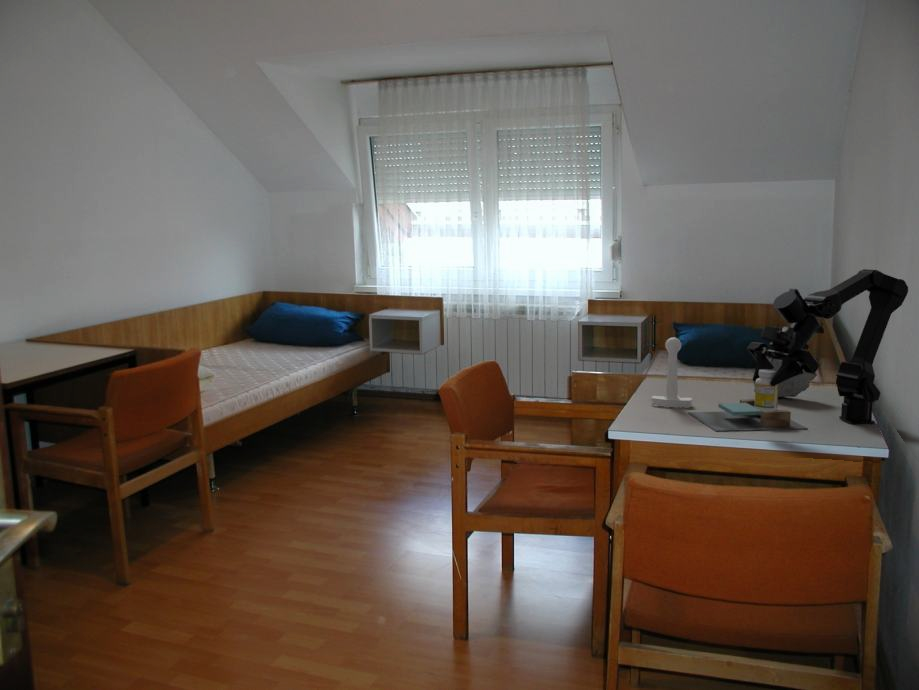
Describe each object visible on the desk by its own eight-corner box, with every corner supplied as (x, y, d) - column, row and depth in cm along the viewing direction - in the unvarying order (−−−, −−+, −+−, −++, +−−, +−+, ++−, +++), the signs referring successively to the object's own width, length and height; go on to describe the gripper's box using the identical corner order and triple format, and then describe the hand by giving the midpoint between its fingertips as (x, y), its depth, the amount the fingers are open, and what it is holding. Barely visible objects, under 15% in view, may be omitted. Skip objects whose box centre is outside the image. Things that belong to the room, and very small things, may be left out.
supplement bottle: (768, 412, 195) (769, 373, 193) (749, 408, 199) (751, 370, 198) (782, 409, 198) (783, 371, 196) (763, 405, 202) (765, 367, 201)
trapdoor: (766, 411, 219) (766, 402, 219) (783, 420, 209) (784, 410, 209) (717, 412, 218) (718, 403, 218) (733, 421, 208) (733, 412, 208)
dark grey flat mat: (772, 411, 224) (773, 397, 224) (807, 429, 205) (808, 413, 204) (688, 413, 223) (688, 398, 222) (715, 431, 203) (716, 415, 203)
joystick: (650, 406, 232) (652, 337, 229) (653, 400, 239) (655, 334, 236) (690, 408, 228) (693, 339, 225) (692, 403, 235) (694, 335, 232)
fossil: (814, 398, 241) (817, 348, 239) (815, 402, 235) (818, 352, 233) (753, 394, 247) (755, 346, 245) (752, 398, 241) (755, 349, 239)
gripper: (753, 310, 205) (718, 356, 202) (812, 317, 188) (774, 368, 185) (775, 338, 209) (741, 384, 207) (835, 348, 193) (798, 398, 190)
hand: (762, 383), depth 197 cm, fingers closed on supplement bottle, 5 cm apart
